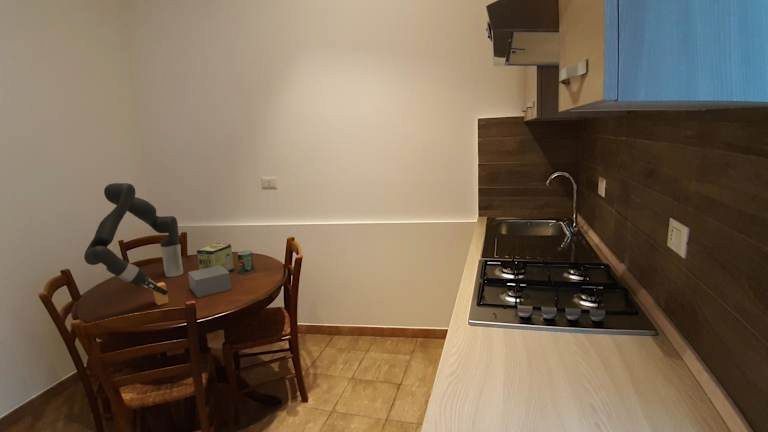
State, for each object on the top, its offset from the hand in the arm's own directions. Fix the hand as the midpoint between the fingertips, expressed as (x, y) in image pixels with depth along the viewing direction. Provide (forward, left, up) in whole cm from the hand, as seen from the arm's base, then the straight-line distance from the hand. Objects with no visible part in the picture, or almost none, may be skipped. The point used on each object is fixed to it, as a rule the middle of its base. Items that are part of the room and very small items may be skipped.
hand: (164, 292), depth 206 cm
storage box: (0, +21, -5) cm, 22 cm away
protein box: (-21, +33, -5) cm, 40 cm away
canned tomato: (-12, +46, -5) cm, 48 cm away
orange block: (0, -2, -5) cm, 5 cm away
